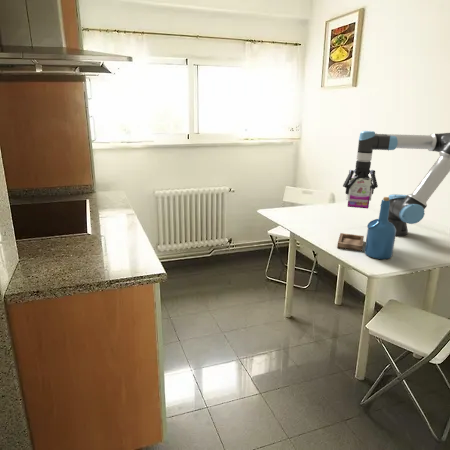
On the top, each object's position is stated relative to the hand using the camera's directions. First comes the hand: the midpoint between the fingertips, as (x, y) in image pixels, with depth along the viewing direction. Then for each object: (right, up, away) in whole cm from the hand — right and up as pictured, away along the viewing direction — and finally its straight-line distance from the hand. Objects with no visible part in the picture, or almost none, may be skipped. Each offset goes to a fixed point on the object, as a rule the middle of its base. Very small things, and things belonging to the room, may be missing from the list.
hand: (358, 200), depth 211 cm
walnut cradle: (-5, -24, -3) cm, 25 cm away
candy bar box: (0, -4, +1) cm, 4 cm away
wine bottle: (+3, -29, -18) cm, 35 cm away
